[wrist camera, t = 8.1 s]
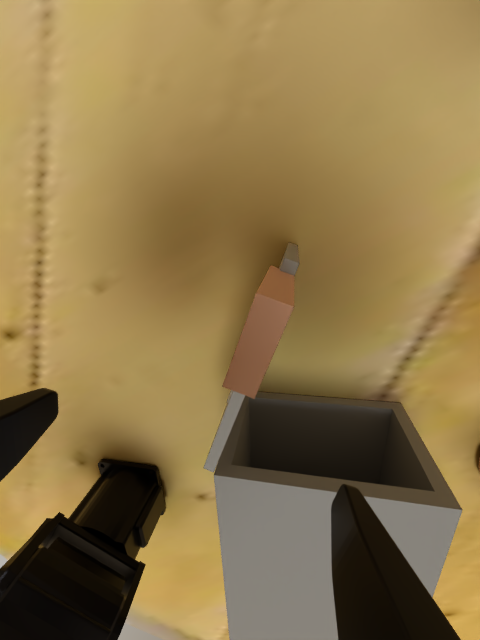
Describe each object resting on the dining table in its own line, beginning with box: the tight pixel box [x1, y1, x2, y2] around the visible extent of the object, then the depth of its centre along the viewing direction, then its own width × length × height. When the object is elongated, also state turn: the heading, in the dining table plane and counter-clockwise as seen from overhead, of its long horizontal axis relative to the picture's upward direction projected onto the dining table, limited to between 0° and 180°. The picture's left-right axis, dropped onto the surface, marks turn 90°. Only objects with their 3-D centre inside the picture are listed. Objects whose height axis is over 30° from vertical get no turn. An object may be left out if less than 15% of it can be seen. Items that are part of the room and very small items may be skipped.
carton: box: [214, 392, 462, 640], centre depth 20 cm, size 12×18×8 cm
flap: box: [204, 242, 299, 472], centre depth 14 cm, size 12×1×12 cm, turn 162°
